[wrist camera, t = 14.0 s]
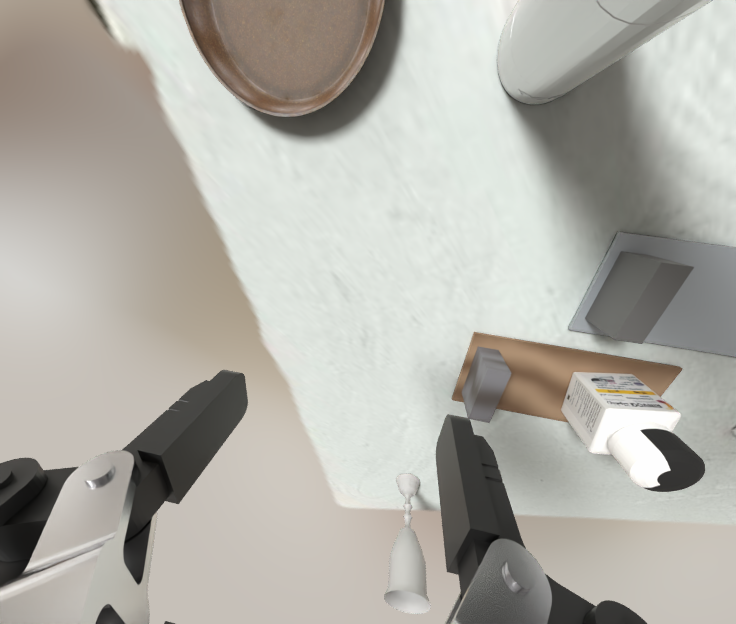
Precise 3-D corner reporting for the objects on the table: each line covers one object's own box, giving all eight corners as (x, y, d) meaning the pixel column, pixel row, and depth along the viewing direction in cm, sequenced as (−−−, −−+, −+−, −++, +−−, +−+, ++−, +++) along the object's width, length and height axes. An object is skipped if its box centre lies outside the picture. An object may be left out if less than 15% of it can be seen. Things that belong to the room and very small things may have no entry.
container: (632, 372, 37) (736, 457, 25) (614, 413, 40) (699, 505, 28) (572, 370, 38) (644, 450, 26) (559, 410, 41) (618, 496, 29)
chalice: (386, 473, 55) (376, 590, 39) (416, 467, 53) (418, 589, 36) (400, 494, 57) (396, 613, 41) (429, 489, 55) (438, 613, 39)
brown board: (474, 332, 38) (484, 355, 33) (679, 366, 36) (726, 397, 30) (451, 398, 44) (457, 426, 38) (627, 431, 41) (660, 467, 36)
